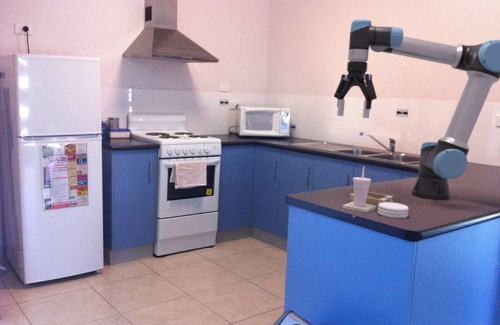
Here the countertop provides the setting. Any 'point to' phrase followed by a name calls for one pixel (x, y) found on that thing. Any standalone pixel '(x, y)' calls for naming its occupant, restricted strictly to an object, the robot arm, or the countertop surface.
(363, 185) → the smoothie
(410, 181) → the countertop surface
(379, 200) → the square wooden frame
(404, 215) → the coaster
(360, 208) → the tile
